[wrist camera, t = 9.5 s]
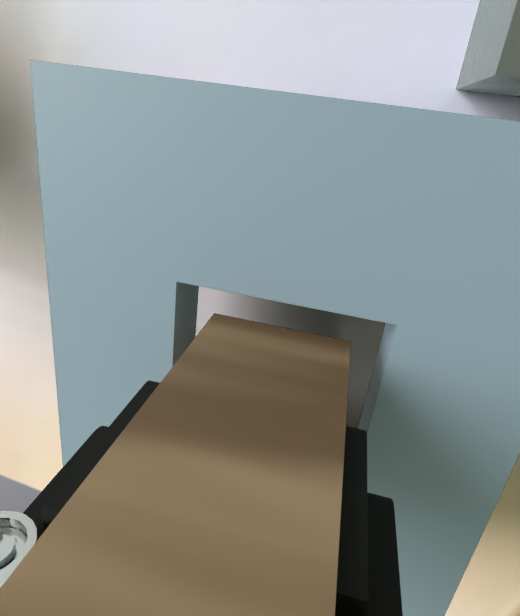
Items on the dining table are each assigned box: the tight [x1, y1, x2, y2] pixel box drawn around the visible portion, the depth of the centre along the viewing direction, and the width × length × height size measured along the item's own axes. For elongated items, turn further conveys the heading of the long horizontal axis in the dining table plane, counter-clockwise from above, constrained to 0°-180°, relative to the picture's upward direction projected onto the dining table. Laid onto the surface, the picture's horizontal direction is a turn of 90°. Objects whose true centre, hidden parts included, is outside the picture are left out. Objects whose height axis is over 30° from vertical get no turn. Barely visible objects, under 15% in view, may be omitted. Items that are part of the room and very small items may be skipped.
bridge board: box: [30, 60, 520, 616], centre depth 16 cm, size 16×14×7 cm
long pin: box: [0, 313, 351, 616], centre depth 9 cm, size 4×4×11 cm
